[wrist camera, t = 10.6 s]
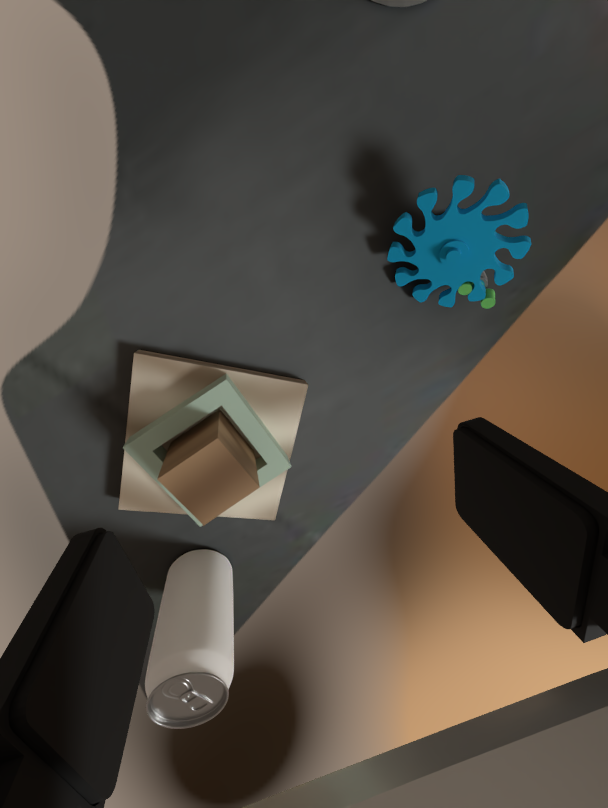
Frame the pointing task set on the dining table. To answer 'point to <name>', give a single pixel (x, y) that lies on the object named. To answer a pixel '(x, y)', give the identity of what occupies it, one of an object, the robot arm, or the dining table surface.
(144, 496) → the board
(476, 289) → the gear
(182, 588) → the can
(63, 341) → the dining table surface
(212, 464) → the block
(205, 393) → the pocket
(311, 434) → the dining table surface
